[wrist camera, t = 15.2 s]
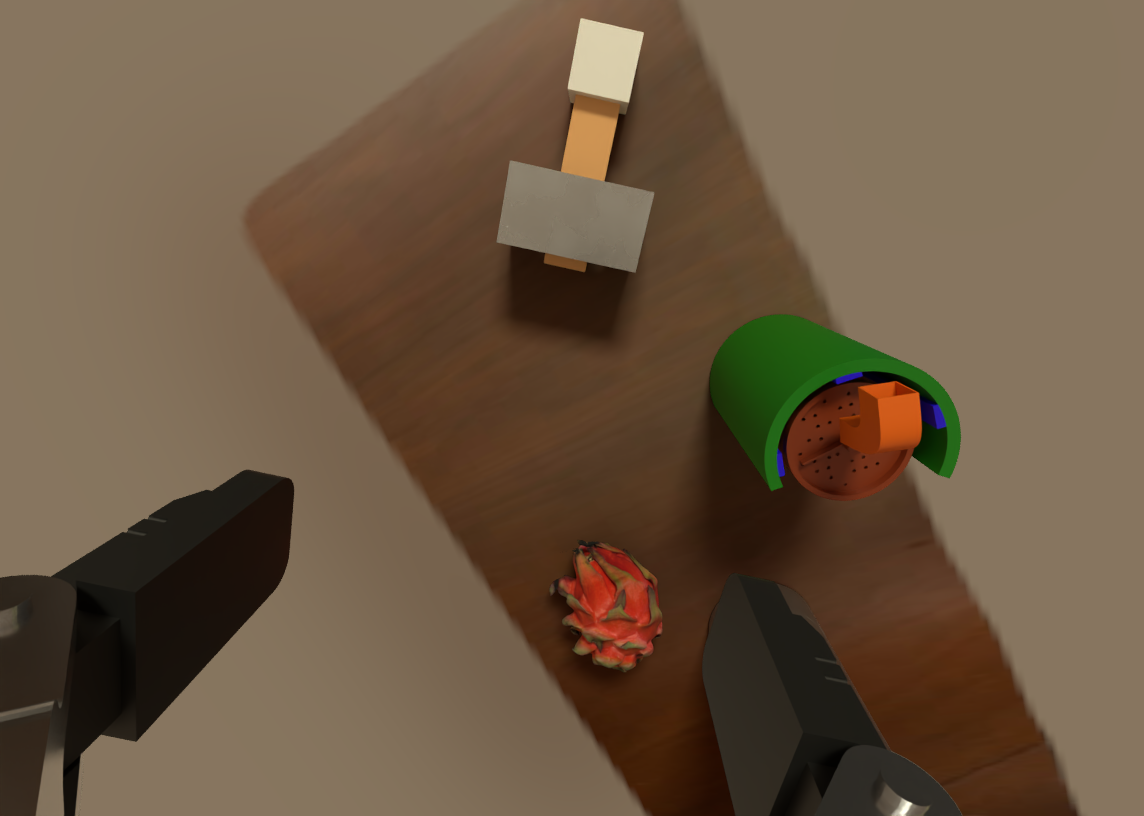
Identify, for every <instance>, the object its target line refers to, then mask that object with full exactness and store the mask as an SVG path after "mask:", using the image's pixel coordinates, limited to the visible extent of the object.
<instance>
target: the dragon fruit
mask: <svg viewBox="0 0 1144 816" xmlns="http://www.w3.org/2000/svg"><path fill="white" fill-rule="evenodd" d="M578 543H579V545H581V546H580V547H579V548H577V549H576V550H573V551H574V552H575V553H574V554H573V564H574V568H575V572H576V579H575V578H572V577H569V576H567V575H564V577H562V578H559V579H557V580H555V581H553V583H552V585H550V595H551V596H552V594H554V592H555V590H556V589H558V592H559V594H560V595H562V596H564V597H567V601H566V602H567V604H568V605H569V606H570V607H571V608H572V609H573V610H574V612H573V613H571V614H570V615H568V616H566V617H565V618H564V619H562V624H563V625H564V626H571V628H570V631H571V632H572V633H573V634H574V635H579V631H580V632H581V633H582V636H581V637H580V639H579V640H578V641H577V643H576V645H575V647H574V648H572V650H573V651H574V652H575V653H576V654H579V655H585V654H586V655H587V654H590V653H592V660H593V663H594V664H595V665H603V666H604V667H607V668H611V669H618V670H620V671H623V672H626V671H627V670H630V669H632V668H633V667H635V665H636V664H637V663H639V662H640V661H641V660H642V658H643V657H646V656H649V655H651V654H652V653H653V645H652V643H651V640H652V639H653V638H658V637H660V636H661V634H662V613H661V611H660V610H659V599H658V591H657V579H656V578H655V576H654V575H653V574H651V573H650V572H649V571H648V570H647V569H645V568H644V567H643V566H642V565H641V564H640V563H639V562H637V561H636V560H635V558H634V557H633V556H632V555H631V554H630V553H629V552H628V551H627V550H625V549H623V551H624V552H623V551H621V550H620V549H618V548H615V547H612V546H610V544H609V543H600V542H585V541H583V540H578ZM560 553H561V552H560Z"/></svg>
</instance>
